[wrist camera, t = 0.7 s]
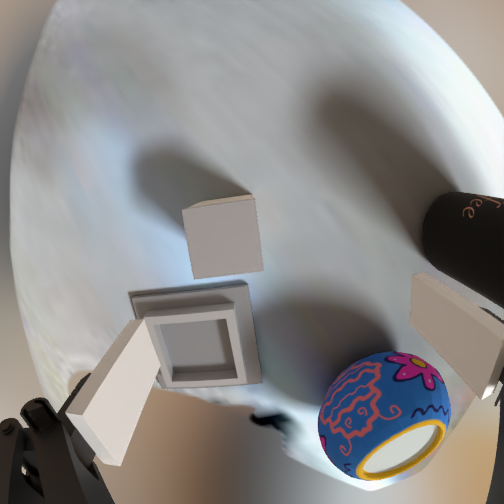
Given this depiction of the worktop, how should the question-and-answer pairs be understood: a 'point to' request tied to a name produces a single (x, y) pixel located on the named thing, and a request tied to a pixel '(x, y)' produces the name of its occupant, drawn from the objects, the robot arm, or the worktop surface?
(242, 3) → the worktop surface
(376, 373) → the ceramic pot
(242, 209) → the plug block
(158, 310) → the socket plate
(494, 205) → the coffee jar
